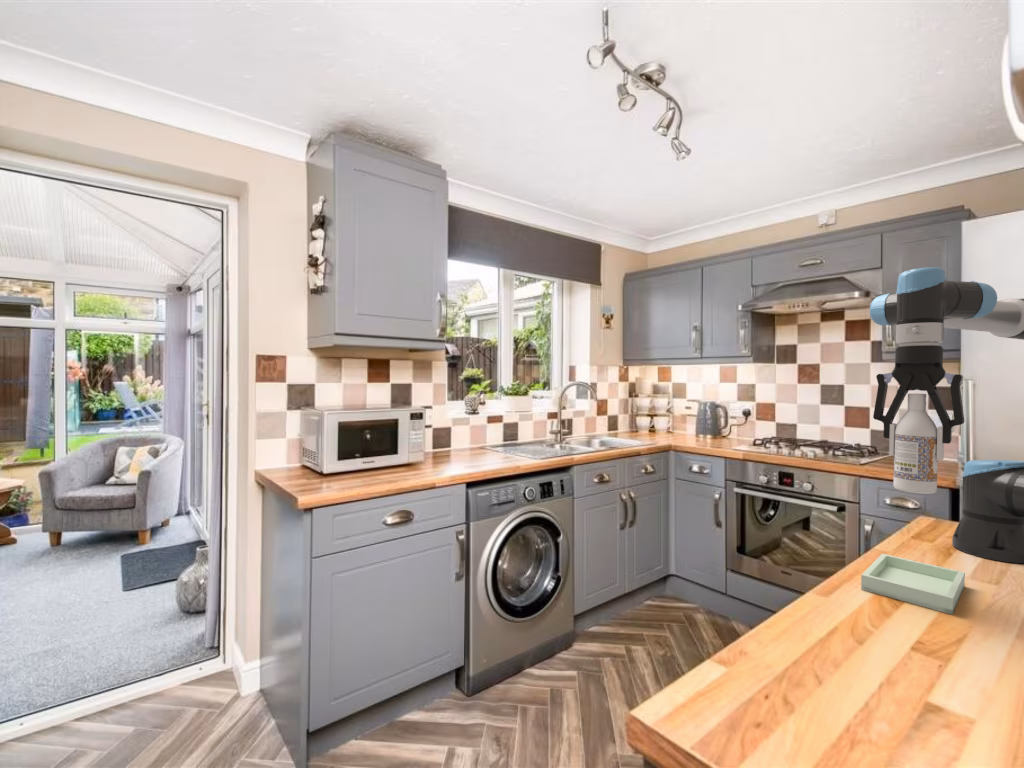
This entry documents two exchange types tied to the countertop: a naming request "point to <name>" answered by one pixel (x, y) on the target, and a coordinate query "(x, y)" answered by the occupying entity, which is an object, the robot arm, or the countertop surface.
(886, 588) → the tray
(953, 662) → the countertop surface
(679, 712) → the countertop surface
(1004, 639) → the countertop surface
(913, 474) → the bath foam
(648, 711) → the countertop surface
